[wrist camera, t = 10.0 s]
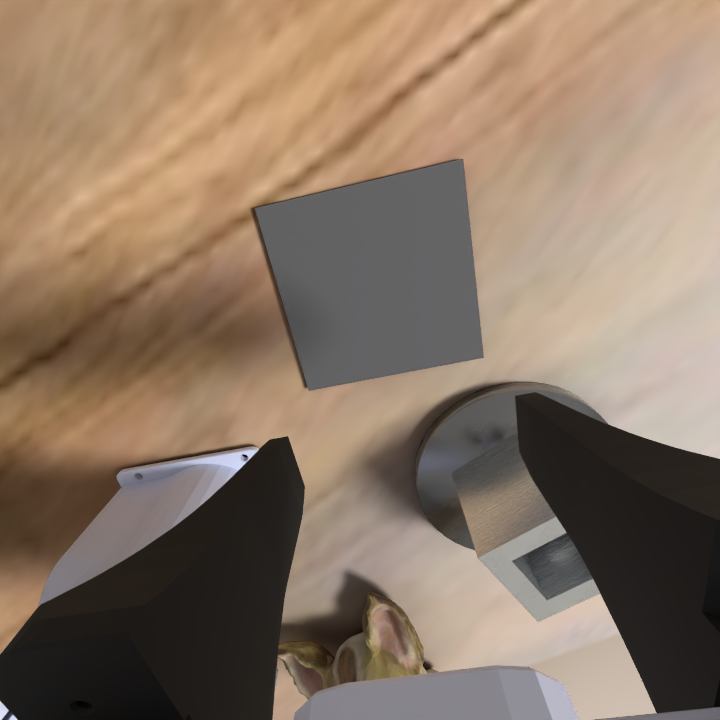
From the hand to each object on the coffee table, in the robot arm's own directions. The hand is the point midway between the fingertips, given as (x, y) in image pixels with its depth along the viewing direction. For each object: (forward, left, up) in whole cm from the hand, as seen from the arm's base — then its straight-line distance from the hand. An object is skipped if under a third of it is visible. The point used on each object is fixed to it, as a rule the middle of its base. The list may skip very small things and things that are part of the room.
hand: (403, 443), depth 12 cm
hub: (+6, -10, -10) cm, 15 cm away
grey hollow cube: (+6, -10, -9) cm, 14 cm away
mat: (0, +3, -10) cm, 10 cm away
